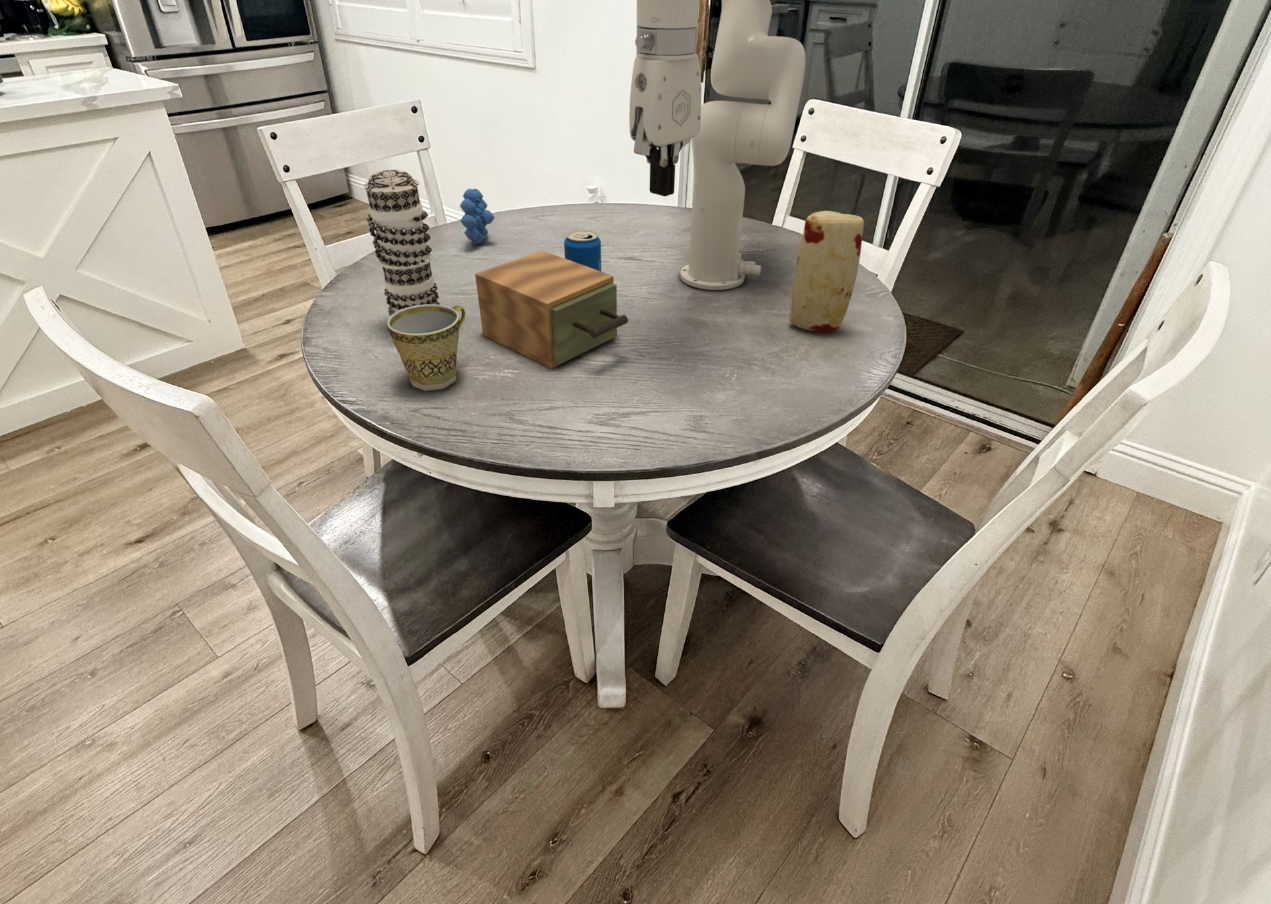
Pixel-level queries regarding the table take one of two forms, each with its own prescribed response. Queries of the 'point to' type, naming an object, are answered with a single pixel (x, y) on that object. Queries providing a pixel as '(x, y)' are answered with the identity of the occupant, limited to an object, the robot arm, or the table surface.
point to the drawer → (585, 322)
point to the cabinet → (531, 300)
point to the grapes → (475, 215)
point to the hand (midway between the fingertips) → (661, 193)
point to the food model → (826, 270)
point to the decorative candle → (401, 239)
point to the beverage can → (583, 248)
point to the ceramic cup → (427, 343)
